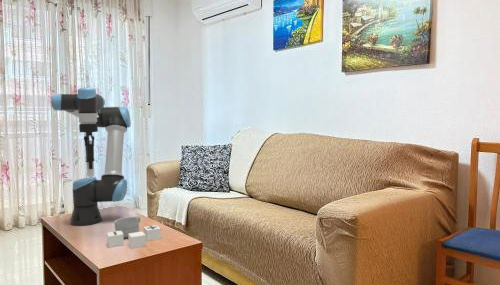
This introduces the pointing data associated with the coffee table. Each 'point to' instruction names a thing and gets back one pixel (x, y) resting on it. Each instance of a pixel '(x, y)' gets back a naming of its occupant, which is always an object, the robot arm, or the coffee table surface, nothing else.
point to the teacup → (127, 225)
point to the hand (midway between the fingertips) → (90, 176)
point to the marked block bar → (115, 239)
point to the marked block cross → (152, 232)
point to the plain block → (137, 239)
